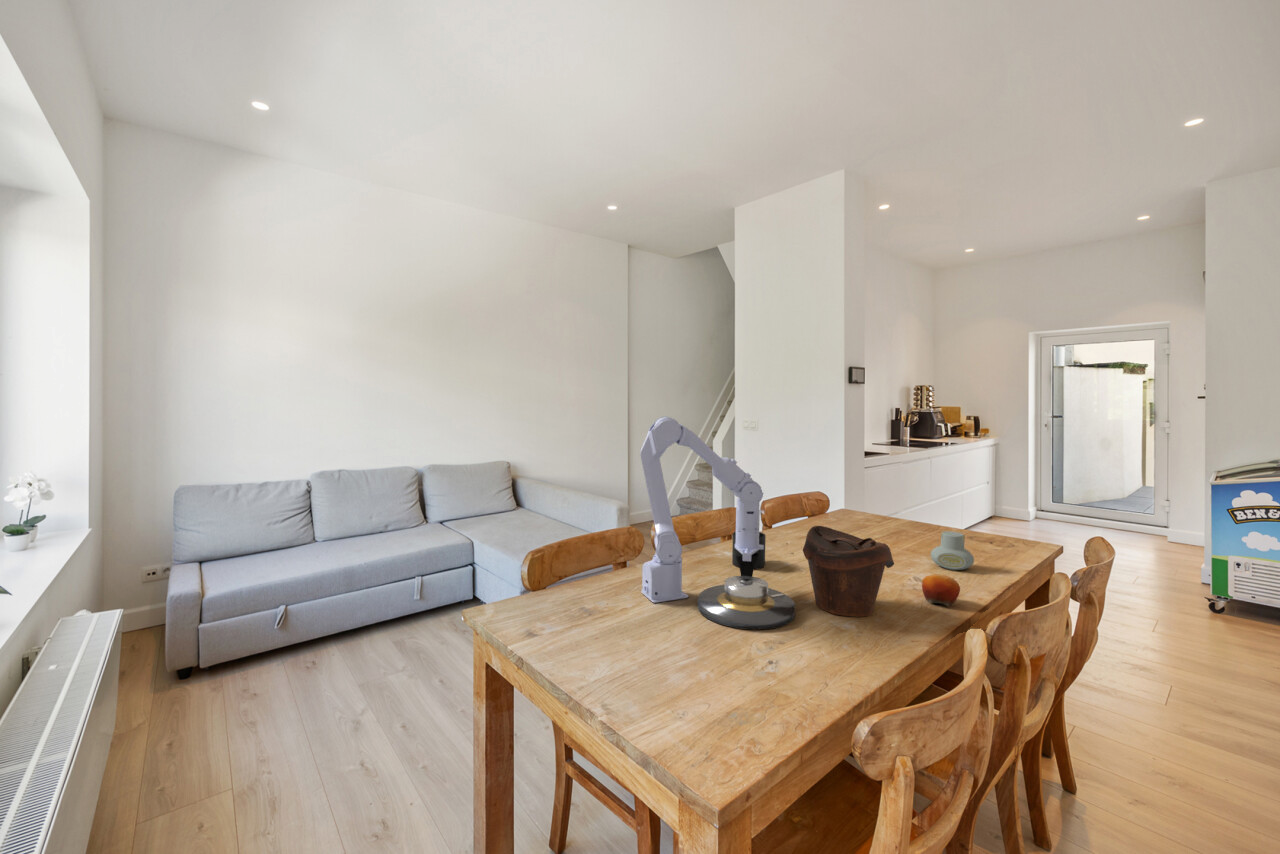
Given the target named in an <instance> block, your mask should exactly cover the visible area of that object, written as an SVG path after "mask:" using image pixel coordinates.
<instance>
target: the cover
mask: <svg viewBox="0 0 1280 854" xmlns="http://www.w3.org/2000/svg"><path fill="white" fill-rule="evenodd" d="M724 585H725V590H724V597H725V598H726V599H727V600H728V601H730V602H732V603H735V604H740V605H749V606H753V605H761V604H764V603H766V602H767V601H768V588H769V583H768V581H766V580H765V579H762V578H760V577H756V576H752V577H751V576H741V575H734V576H730V577H727V578H725V580H724Z"/></svg>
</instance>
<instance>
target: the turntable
mask: <svg viewBox="0 0 1280 854" xmlns="http://www.w3.org/2000/svg"><path fill="white" fill-rule="evenodd" d="M724 590H725V584H718V585H714V586H710V587H707V588H706V589H703V590H702V591H701V592H699V595H698V596H697V610H698V611H699V613H700V614H701V615H702V616H703V617H704V618H706V619H708V620H710V621H712V622H714V623H716V624H720V625H722V626H726V627H729V628H730V627H731V628H734V629H742V630H771V629H777V628H780V627H783V626H786V625H788V624H790V623H791V622H792V621H794V619H795V616H796V603H795V601H794V600H793V599H792V598H791V597H790V596H789V595H787V594H785V593H783V592H782V591H779V590H777V589H773V588H769V587H768V601H767V602H766V603H764V604H761V605H753V606H749V605H740V604H735V603H732V602H730V601H728V600H727V599H726V598H725V597H724Z"/></svg>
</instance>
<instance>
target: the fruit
mask: <svg viewBox="0 0 1280 854" xmlns="http://www.w3.org/2000/svg"><path fill="white" fill-rule="evenodd" d="M921 582H922V583H921V590H922V593H923V596H924V598H925V601H928V602H929V603H930V605H931V604H942V605H944V606H946V607H947V608H948V609H950V607H949V606H950V605H952V604H954V603H955V601H957V599H958V597H959V595H960V591H961V586H960V585H959V582H957V580H955V579H954V578H953V577H951V576H949V575H946V574H945V575H944V574H941V573H933V574H930V575H925V577H923V579H922V580H921Z"/></svg>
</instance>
